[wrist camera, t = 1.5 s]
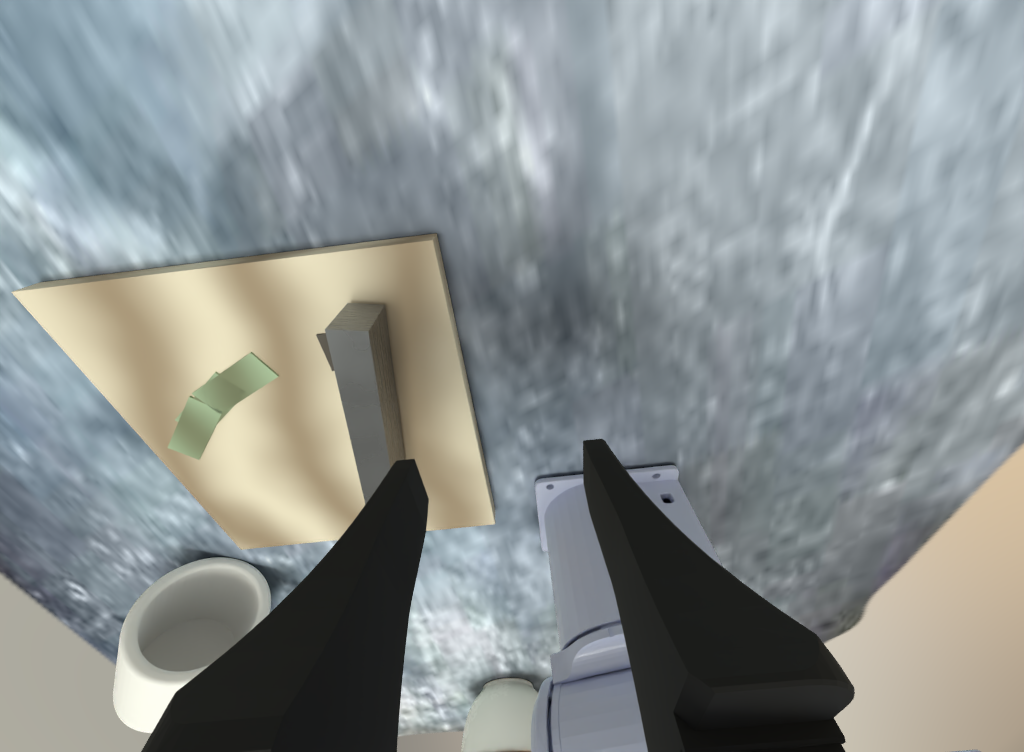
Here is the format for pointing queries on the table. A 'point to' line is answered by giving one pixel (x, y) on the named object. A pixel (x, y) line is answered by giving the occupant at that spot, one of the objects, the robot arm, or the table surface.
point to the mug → (183, 632)
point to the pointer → (367, 390)
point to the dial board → (276, 380)
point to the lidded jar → (501, 717)
